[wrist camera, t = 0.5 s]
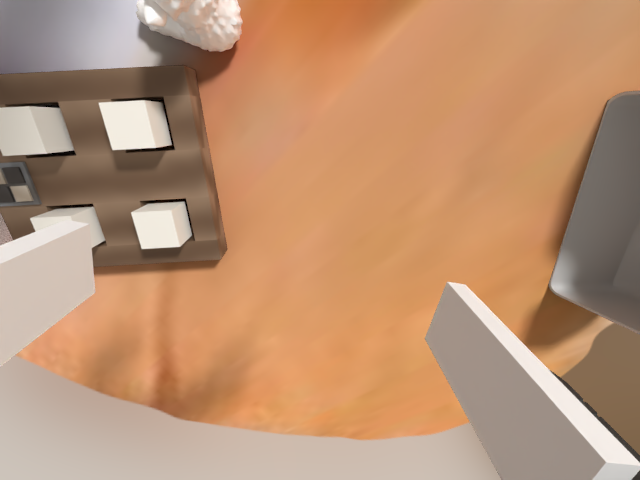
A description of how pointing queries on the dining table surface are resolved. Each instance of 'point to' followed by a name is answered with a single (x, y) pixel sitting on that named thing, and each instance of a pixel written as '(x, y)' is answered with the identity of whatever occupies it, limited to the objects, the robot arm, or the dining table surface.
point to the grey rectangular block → (606, 222)
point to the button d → (162, 225)
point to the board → (115, 162)
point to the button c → (135, 124)
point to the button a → (33, 131)
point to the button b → (71, 214)
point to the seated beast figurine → (194, 21)
